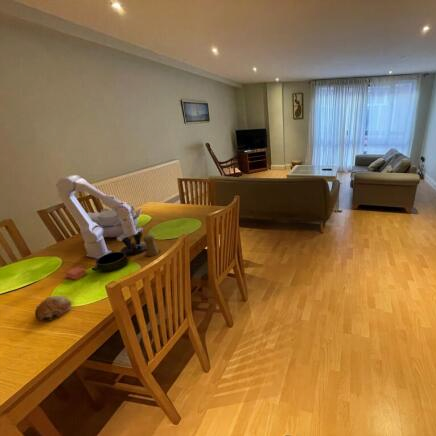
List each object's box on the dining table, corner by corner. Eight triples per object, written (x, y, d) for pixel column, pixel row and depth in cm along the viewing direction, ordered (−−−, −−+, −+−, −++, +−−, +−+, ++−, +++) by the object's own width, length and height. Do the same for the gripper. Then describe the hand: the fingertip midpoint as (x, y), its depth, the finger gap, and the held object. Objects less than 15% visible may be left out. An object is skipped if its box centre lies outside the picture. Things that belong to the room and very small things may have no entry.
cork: (145, 256, 131) (140, 238, 127) (148, 251, 136) (143, 233, 132) (157, 255, 132) (153, 237, 128) (159, 249, 138) (155, 232, 134)
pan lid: (115, 253, 134) (113, 245, 132) (136, 242, 146) (134, 235, 144) (133, 257, 130) (131, 249, 129) (154, 246, 142) (152, 238, 140)
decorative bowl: (99, 250, 137) (91, 226, 132) (83, 236, 154) (75, 214, 148) (153, 232, 160) (148, 211, 154) (134, 221, 176) (129, 202, 171)
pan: (86, 273, 117) (83, 265, 115) (120, 255, 133) (118, 247, 131) (104, 277, 113) (102, 269, 112) (137, 258, 129) (135, 251, 127)
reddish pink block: (67, 277, 114) (65, 272, 113) (78, 272, 118) (75, 267, 116) (76, 279, 112) (74, 274, 111) (86, 274, 116) (84, 269, 115)
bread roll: (78, 312, 97) (78, 292, 98) (53, 322, 87) (54, 300, 88) (52, 313, 97) (53, 293, 98) (25, 323, 87) (26, 300, 87)
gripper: (121, 231, 125) (128, 254, 130) (145, 221, 138) (150, 242, 143) (111, 229, 127) (118, 252, 132) (135, 219, 140) (141, 240, 145)
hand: (134, 246), depth 138 cm, fingers open, 5 cm apart
